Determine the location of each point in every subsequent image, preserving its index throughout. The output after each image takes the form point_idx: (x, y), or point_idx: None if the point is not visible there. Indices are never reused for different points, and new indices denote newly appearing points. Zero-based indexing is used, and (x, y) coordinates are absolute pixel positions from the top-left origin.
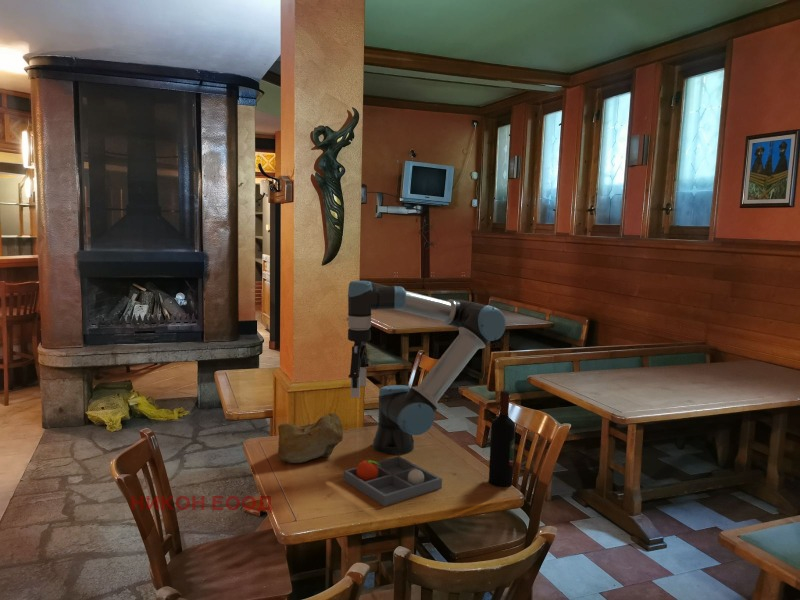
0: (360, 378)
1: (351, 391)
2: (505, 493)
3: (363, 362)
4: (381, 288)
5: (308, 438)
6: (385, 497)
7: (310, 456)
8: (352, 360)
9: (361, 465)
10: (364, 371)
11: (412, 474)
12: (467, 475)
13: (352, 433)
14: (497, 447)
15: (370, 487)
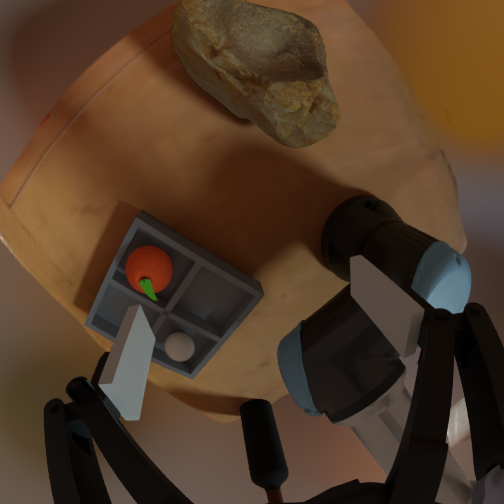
0: (371, 290)
1: (122, 327)
2: (224, 416)
3: (417, 378)
4: None
5: (214, 76)
6: (86, 324)
7: (211, 93)
8: (60, 500)
9: (130, 268)
10: (391, 336)
11: (167, 350)
12: (265, 378)
13: (408, 133)
14: (247, 452)
15: (97, 295)
